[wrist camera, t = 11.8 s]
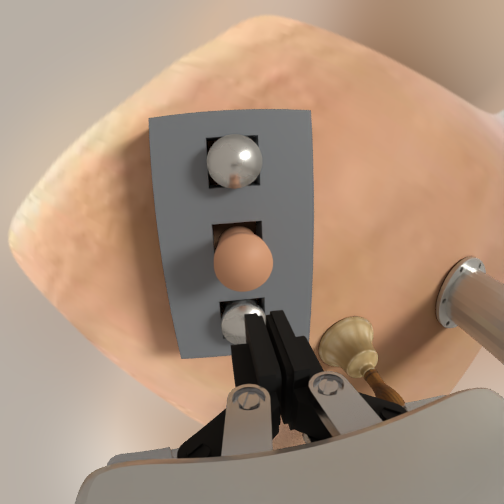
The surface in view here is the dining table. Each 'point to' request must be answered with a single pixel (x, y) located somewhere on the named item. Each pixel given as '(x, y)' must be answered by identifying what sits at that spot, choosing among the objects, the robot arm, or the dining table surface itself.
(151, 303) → the dining table surface
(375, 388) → the hand bell
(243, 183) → the ball
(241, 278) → the peach grooved knob
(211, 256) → the panel
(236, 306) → the silver rounded piece
